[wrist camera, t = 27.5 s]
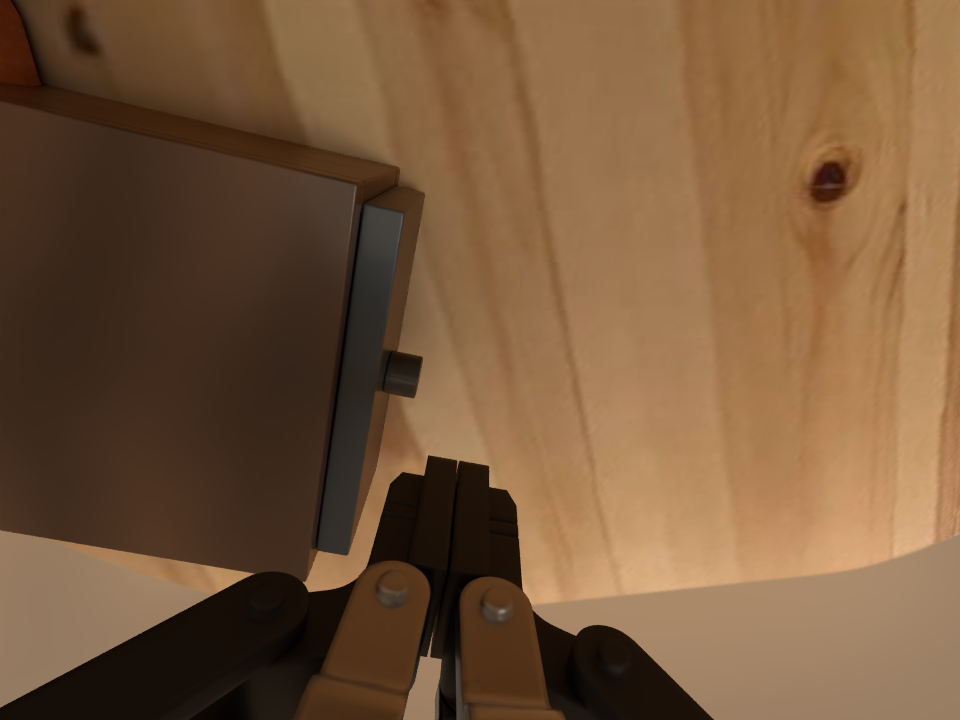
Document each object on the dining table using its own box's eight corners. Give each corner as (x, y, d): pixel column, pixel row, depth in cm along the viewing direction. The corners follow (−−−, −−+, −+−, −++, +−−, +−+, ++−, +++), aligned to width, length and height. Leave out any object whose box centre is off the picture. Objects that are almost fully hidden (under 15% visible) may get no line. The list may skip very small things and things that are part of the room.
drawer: (456, 199, 21) (447, 221, 15) (402, 471, 25) (380, 562, 20) (55, 106, 20) (-111, 94, 14) (75, 409, 24) (-43, 488, 19)
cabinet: (400, 167, 21) (358, 183, 14) (354, 461, 26) (305, 583, 19) (5, 75, 20) (-264, 39, 13) (37, 401, 25) (-142, 507, 18)
